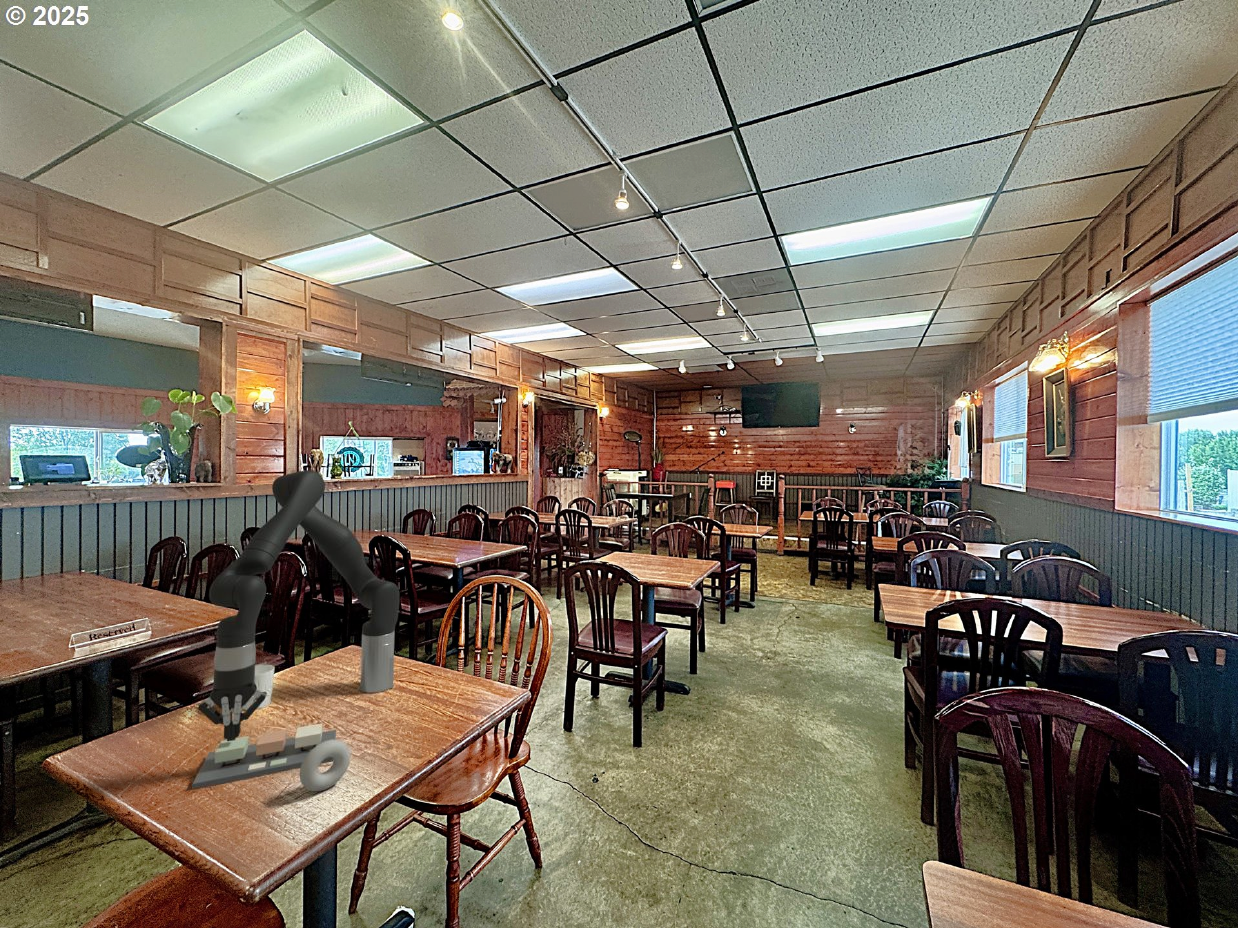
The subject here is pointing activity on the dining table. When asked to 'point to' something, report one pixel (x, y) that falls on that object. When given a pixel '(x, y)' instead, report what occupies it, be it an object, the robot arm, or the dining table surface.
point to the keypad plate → (255, 764)
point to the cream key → (308, 736)
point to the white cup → (263, 684)
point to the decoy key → (271, 743)
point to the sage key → (231, 750)
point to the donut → (316, 756)
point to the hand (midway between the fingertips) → (231, 739)
